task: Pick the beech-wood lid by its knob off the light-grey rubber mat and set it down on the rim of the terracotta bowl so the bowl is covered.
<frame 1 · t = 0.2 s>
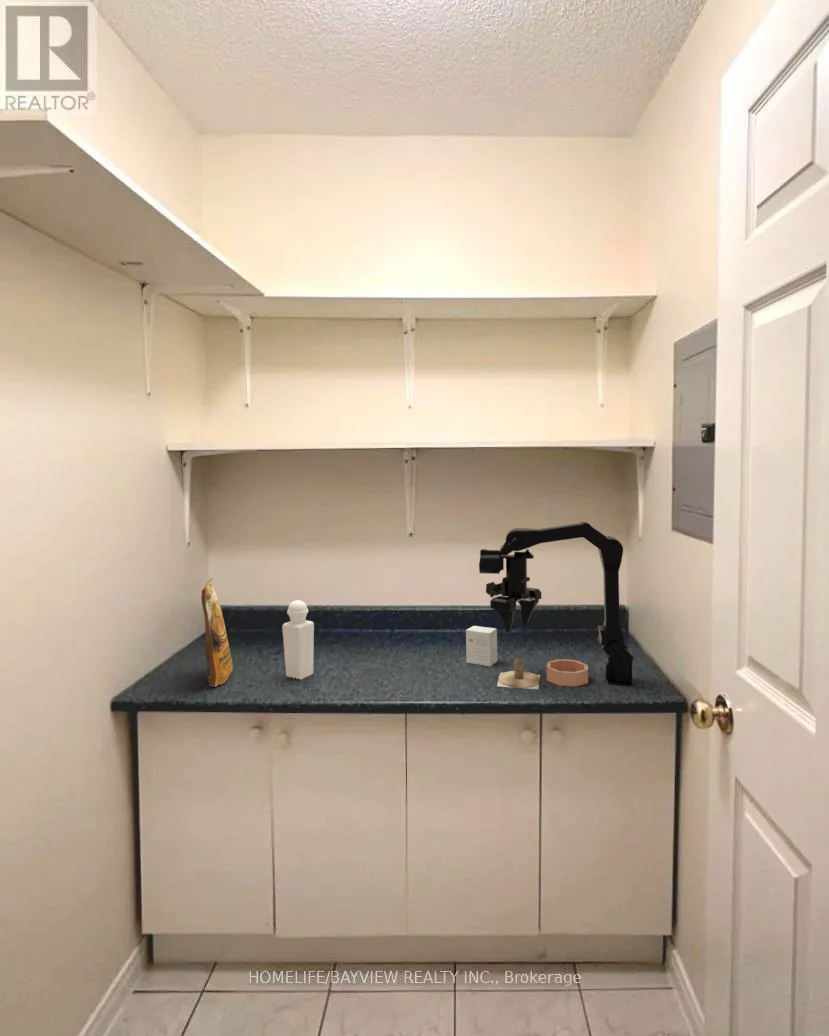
hand: (516, 628, 173), 14 cm above the countertop, fingers open, 9 cm apart
white square bottle: (299, 676, 177), on the countertop
bowl: (567, 680, 170), on the countertop
mat: (518, 681, 169), on the countertop
small box: (481, 663, 186), on the countertop
lid: (518, 680, 169), resting on mat
pancake mix bag: (218, 679, 175), on the countertop
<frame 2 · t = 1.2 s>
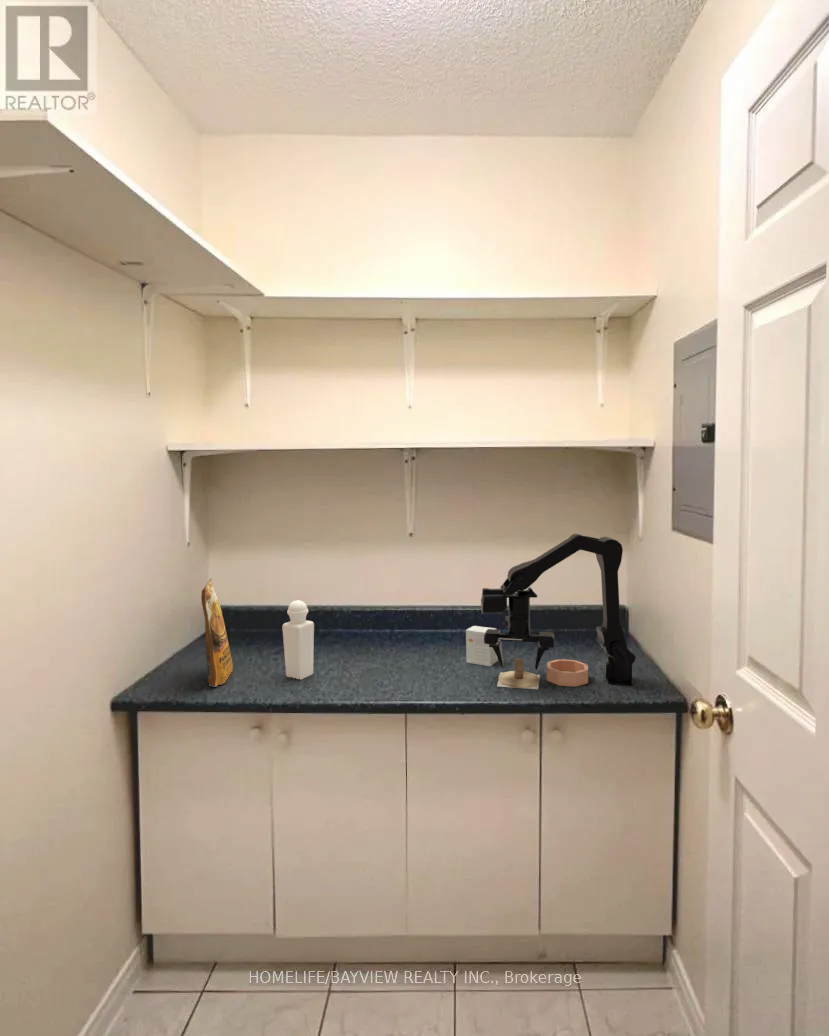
hand: (519, 668, 169), 4 cm above the countertop, fingers open, 9 cm apart
nothing on the countertop moved.
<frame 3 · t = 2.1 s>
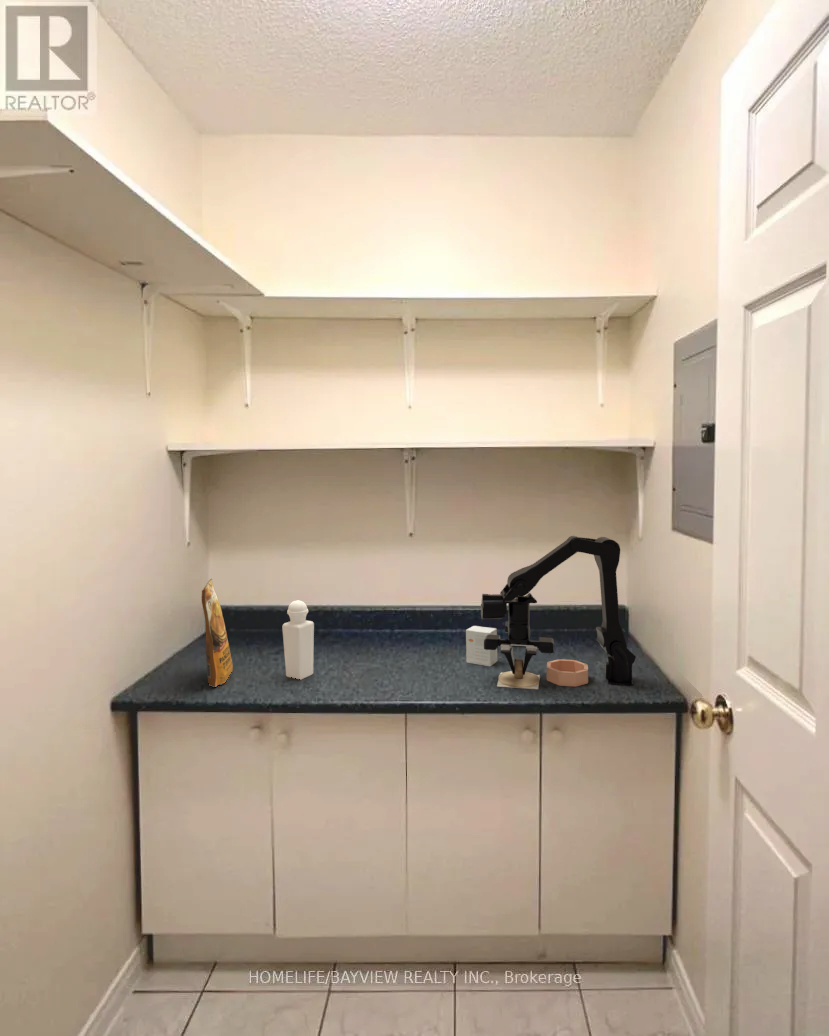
hand: (518, 674, 169), 2 cm above the countertop, fingers closed on lid, 2 cm apart
lid: (518, 680, 169), resting on mat, touching gripper
everything else where it was.
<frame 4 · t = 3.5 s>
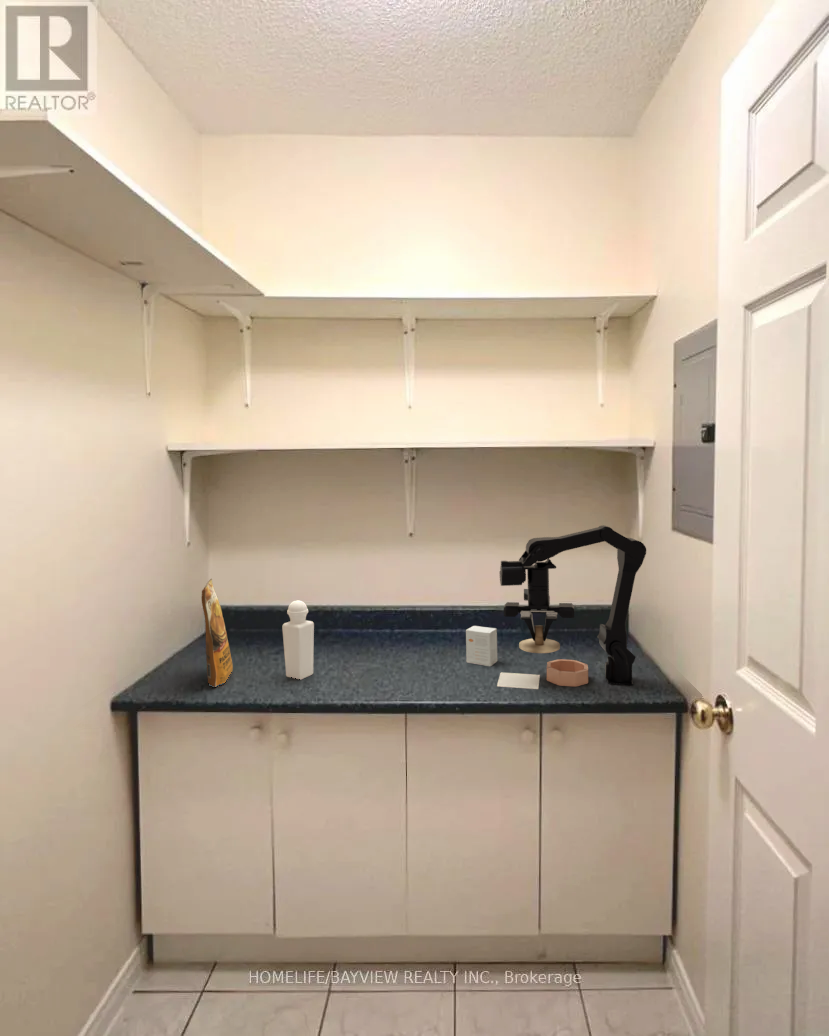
hand: (539, 640, 169), 11 cm above the countertop, fingers closed on lid, 2 cm apart
lid: (539, 647, 169), point 10 cm above the countertop, touching gripper
everything else where it was.
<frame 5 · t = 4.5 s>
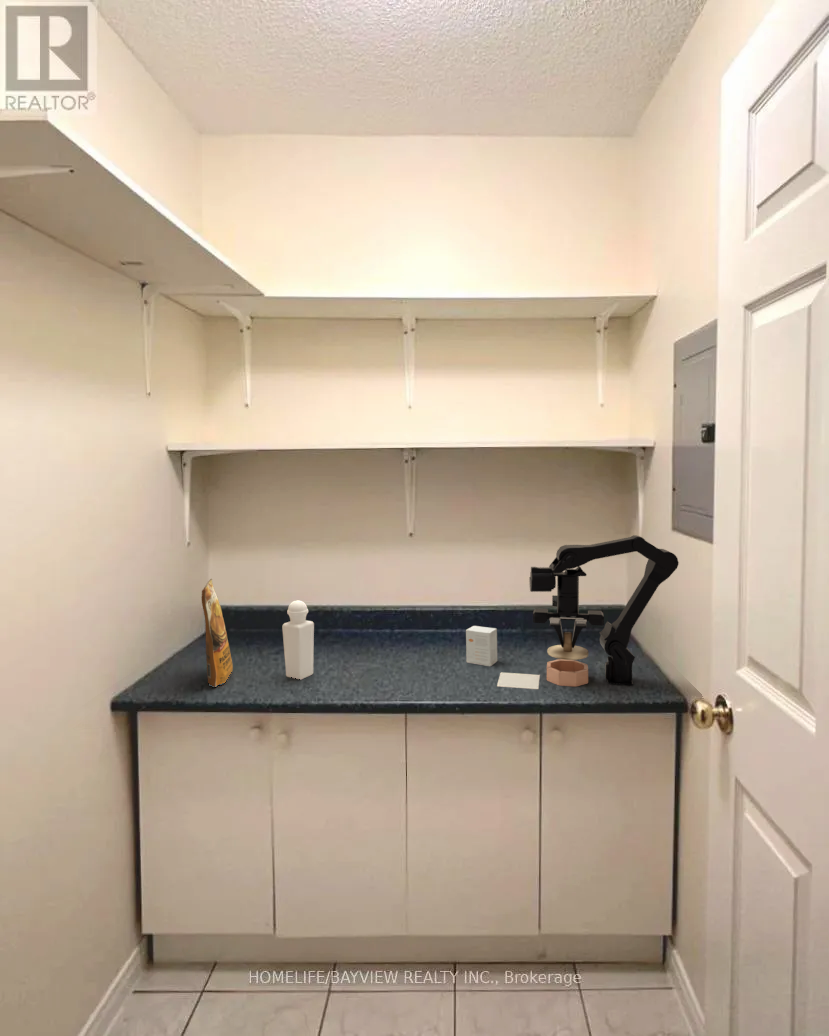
hand: (567, 647, 169), 9 cm above the countertop, fingers closed on lid, 2 cm apart
lid: (567, 653, 169), point 8 cm above the countertop, touching gripper
everything else where it was.
when the fingers open (7 cm above the countertop, at t = 5.0 s): lid drops 2 cm, resting on bowl.
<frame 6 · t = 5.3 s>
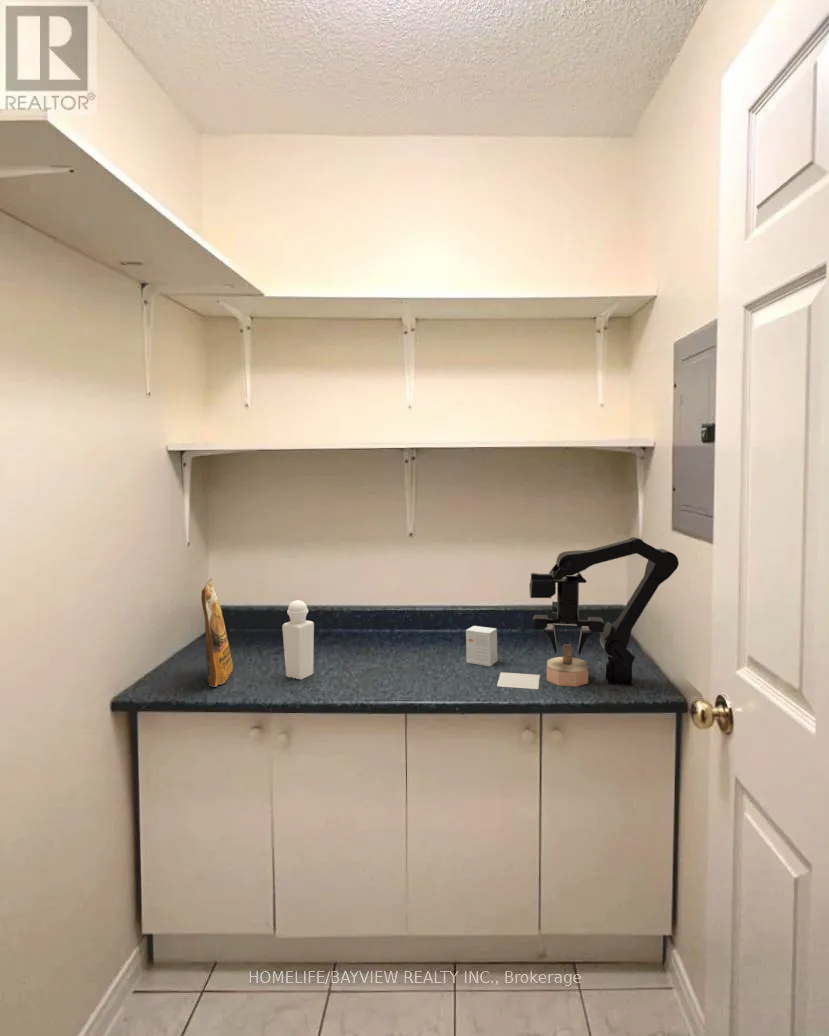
hand: (567, 653, 169), 7 cm above the countertop, fingers open, 6 cm apart
lid: (567, 666, 170), point 4 cm above the countertop, touching bowl
everything else where it was.
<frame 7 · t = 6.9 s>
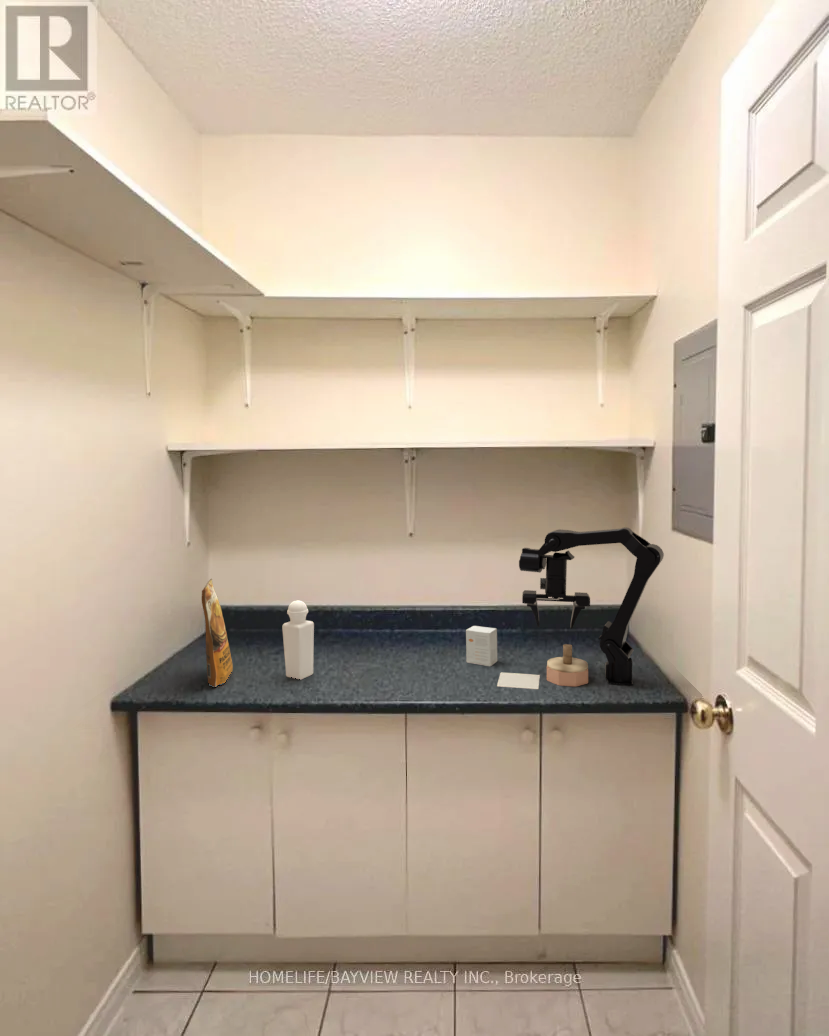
hand: (554, 627, 176), 13 cm above the countertop, fingers open, 9 cm apart
nothing on the countertop moved.
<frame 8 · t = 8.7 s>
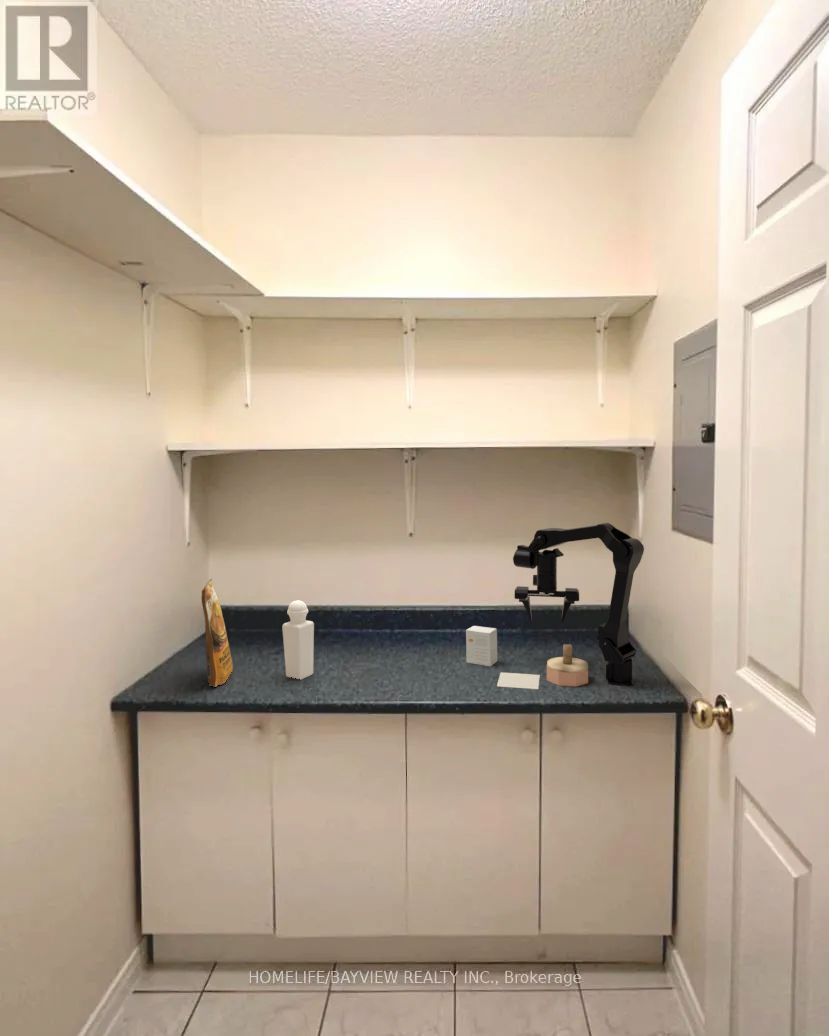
hand: (546, 621, 184), 12 cm above the countertop, fingers open, 9 cm apart
nothing on the countertop moved.
at the end: lid 0.1 cm off-centre on the bowl, point 4.0 cm above the bowl's base; lid tilted 0°; the gripper is holding nothing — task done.
